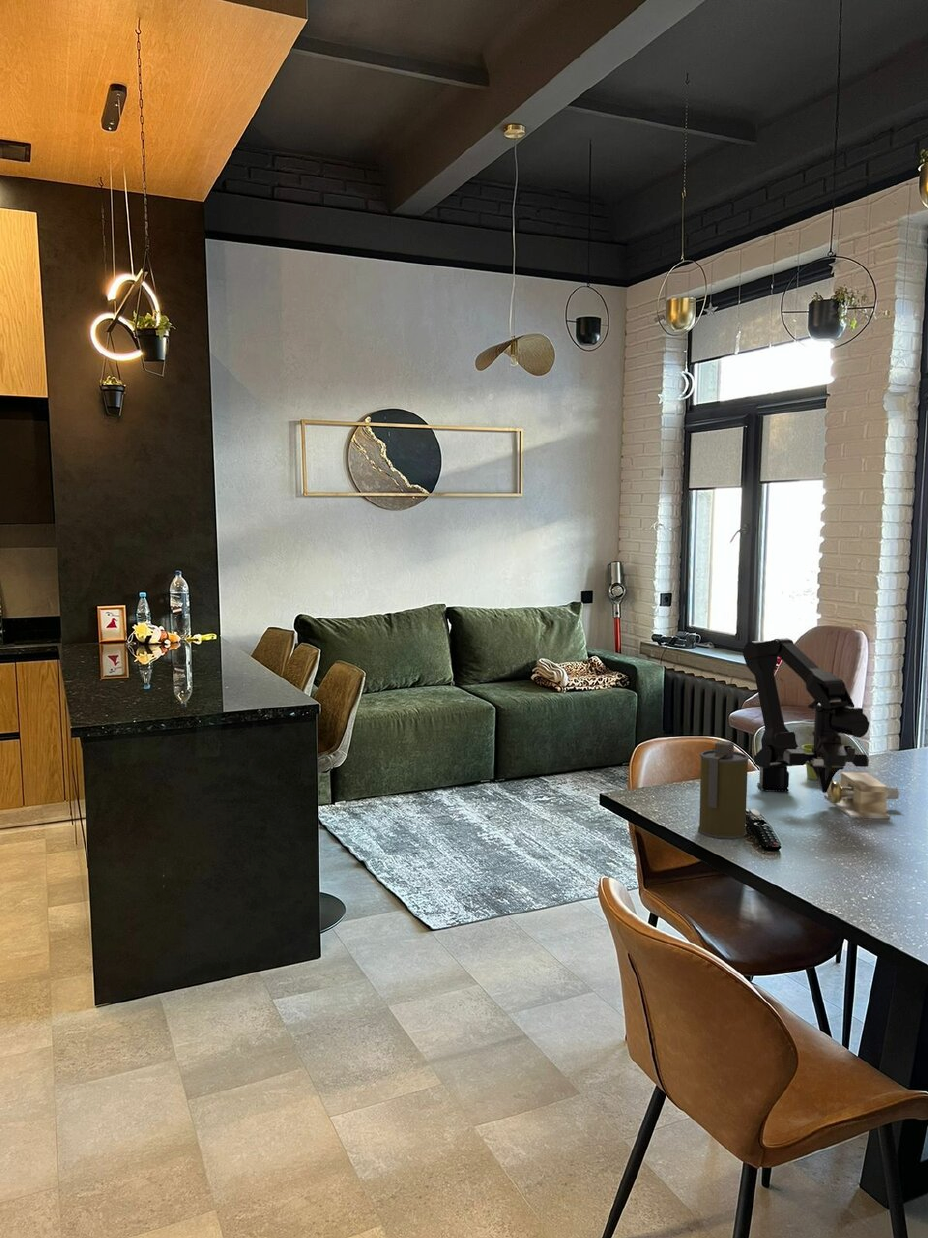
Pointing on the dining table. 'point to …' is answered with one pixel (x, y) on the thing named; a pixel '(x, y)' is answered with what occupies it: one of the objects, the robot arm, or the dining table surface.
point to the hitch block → (863, 796)
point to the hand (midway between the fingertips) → (824, 792)
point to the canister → (723, 792)
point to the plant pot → (810, 770)
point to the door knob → (840, 792)
